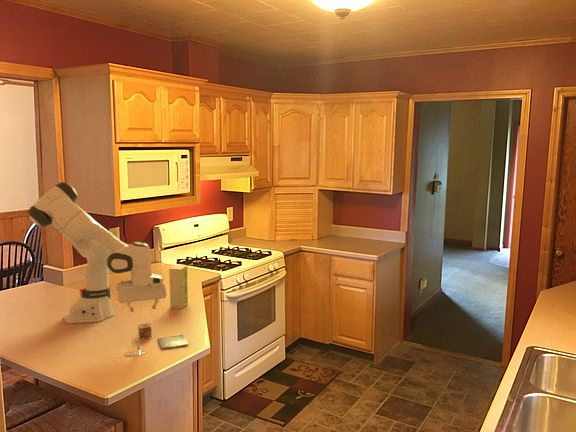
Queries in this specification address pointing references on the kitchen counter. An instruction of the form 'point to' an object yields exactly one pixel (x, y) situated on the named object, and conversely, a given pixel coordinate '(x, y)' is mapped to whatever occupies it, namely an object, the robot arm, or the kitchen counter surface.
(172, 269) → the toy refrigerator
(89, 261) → the robot arm
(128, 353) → the unidentifiable
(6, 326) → the kitchen counter surface
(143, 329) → the cube
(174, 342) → the trivet
